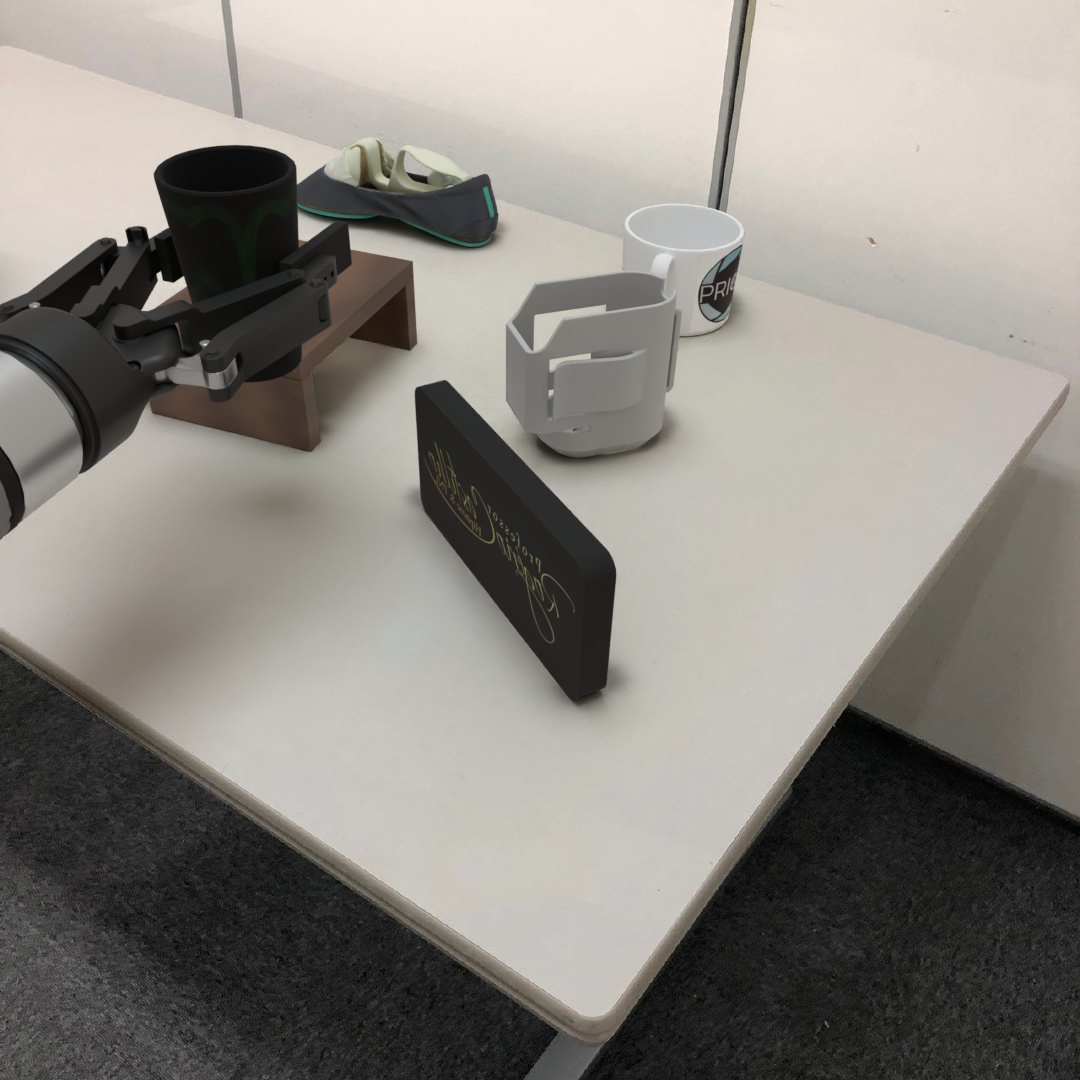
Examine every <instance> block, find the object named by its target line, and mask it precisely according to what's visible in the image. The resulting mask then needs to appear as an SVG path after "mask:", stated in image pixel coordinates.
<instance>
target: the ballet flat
mask: <svg viewBox="0 0 1080 1080" xmlns="http://www.w3.org/2000/svg"><path fill="white" fill-rule="evenodd" d="M406 153H408V155H410V156H412V158H413V159H414V160H415V161H417V162H418V163H419V164H421V165H422V166H424V167H425V168H428V169H430V170H432V171H431V172H430V173H429V174H428V175H424V174H418V173H413V172H410V171H406V168H405V156H406ZM495 197H496V196H495V194H494V190H493V186H492V180H491V177H490V176H489V174H487V173H481V174H479V175H476V176H474V177H473V176H471V175H470V174H468V173H467V172H465V171H464V170H462V169H461V167H459V166H458V164H456V163H455V162H454V161H452V160H451V159H449V158H447V157H446V156H444V155H442V154H439V153H438V152H435V151H432V150H430V149H426V148H422V147H421V148H420V147H417V146H414V145H412V144H406V145H404V146H402V147H401V148H399V150H398V151H397V153H396V157H395V158H394V157H393V155H392V154H391V153H388V151H387V150H386V149H385V148H384V146H383V143H382V141H381V139H379V138H378V137H371V136H368V137H365V138H364V137H363V138H360V139H358V140H357V141H356V142H354V143H353V144H351V145H349V146H344V147H343V148H342V150H341V151H340V153H339V154H338V155H335V156H333V157H332V158H331V159H330V160H329V161H328V162H327V163H325V164H324V165H322V167H320V168H318V169H316V170H315V171H314V172H313V173H311V174H309V175H308V176H307V177H305V178H304V179H302V180H301V181H300V182H298V183H297V202H298V207H299V208H300V209H302V210H305V211H307V212H310V213H314V214H317V215H321V216H326V217H331V218H332V217H333V218H342V219H370V218H375V217H377V216H382V217H388V218H393V219H397V220H400V221H401V222H404V223H406V224H408V225H410V226H412V227H415V228H417V229H419V230H422V231H424V232H426V233H429V234H431V235H433V236H435V237H438V238H440V239H443V240H445V241H448V242H451V243H454V244H457V245H460V246H462V247H468V248H477V247H482V246H484V245H487V244H488V243H489V242H490V241H491V239H492V235H493V233H494V232H496V230H497V227H498V224H499V216H500V215H499V212H498V206H497V201H496V198H495Z"/></svg>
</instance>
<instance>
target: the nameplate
mask: <svg viewBox="0 0 1080 1080" xmlns="http://www.w3.org/2000/svg"><path fill="white" fill-rule="evenodd" d="M414 409H415V424H416V425H415V426H416V437H417V438H416V443H417V444H416V445H417V461H418V476H419V477H418V478H419V493H420V500H421V504H422V507H423V510H424V511H425V513H426V515H427V516H428V518H429V519H430V520H431V522H432V523H433V524H434V526H435V527H436V528H437V529H438V531H439V532H440V533H441V534H442V536H443V537H444V539H445V540H446V541H447V542H448V544H449V545H450V546H451V547H452V549H453V550H454V551H455V553H456V555H458V557H459V558H460V559H461V560H462V562H463V563H464V564H465V566H466V567H467V568H468V569H469V570H470V572H471V573H472V574H473V576H474V577H475V578H476V580H477V581H478V582H479V584H480V585H481V586H482V587H483V589H484V590H485V591H486V593H487V594H488V595H489V596H490V598H491V599H492V601H494V603H495V604H496V605H497V607H498V608H499V609H500V610H501V611H502V613H503V614H504V616H505V617H506V618H507V620H508V621H509V622H510V624H511V625H512V626H513V627H514V629H515V630H516V631H517V633H518V634H519V636H520V637H521V638H522V639H523V641H525V643H526V644H527V645H528V647H529V648H530V649H531V650H532V651H533V653H534V654H535V656H536V657H537V658H538V660H539V661H540V662H541V664H543V666H544V667H545V668H546V670H547V671H548V672H549V674H550V675H551V676H552V677H553V679H554V680H555V681H556V683H557V684H558V685H559V686H560V688H561V690H562V691H563V692H564V693H565V695H566V696H567V697H568V698H569V699H570V700H573V701H576V700H578V699H581V698H583V697H585V696H587V695H590V694H593V693H595V692H598V691H600V690H603V689H604V688H606V686H607V683H608V674H609V661H610V653H611V652H610V651H611V642H612V641H611V640H612V627H613V619H614V608H615V607H614V605H615V597H616V585H617V568H616V564H615V561H614V558H613V556H612V555H611V553H610V550H608V549H607V548H606V546H605V545H604V544H603V543H602V542H601V541H600V540H599V539H598V538H597V537H596V536H595V535H594V534H593V532H591V531H590V530H589V528H587V527H586V525H584V523H583V522H582V521H581V520H580V519H579V518H578V517H577V516H576V515H575V514H574V512H572V510H570V509H569V508H568V507H567V506H566V504H565V503H564V502H563V501H562V500H561V499H560V498H559V497H558V496H557V494H555V492H553V490H552V489H551V488H550V487H549V486H547V484H546V483H545V482H544V481H543V480H542V479H541V478H540V477H539V476H538V475H537V473H535V471H534V470H533V469H532V468H531V467H530V466H528V464H527V463H526V462H525V461H524V459H522V458H521V457H520V456H519V454H517V453H516V452H515V450H513V448H512V447H511V446H510V445H509V444H508V443H507V442H506V441H505V439H503V437H501V436H500V435H499V434H498V433H497V432H496V430H494V428H493V427H492V426H491V425H490V424H489V423H488V422H487V421H486V420H485V419H484V417H482V415H480V413H478V412H477V410H476V409H475V408H474V407H473V406H472V405H471V404H470V403H469V402H468V401H467V400H466V398H464V396H463V395H462V394H460V392H459V391H458V390H457V389H456V388H455V387H454V386H453V385H452V384H451V383H450V382H449V381H448V380H447V379H442V380H439V381H435V382H431V383H427V384H423V385H419V386H416V387H415V389H414Z"/></svg>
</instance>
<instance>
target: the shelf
mask: <svg viewBox="0 0 1080 1080" xmlns="http://www.w3.org/2000/svg"><path fill="white" fill-rule="evenodd" d="M307 241H308V240H302V239H299V247H301V246H302V245H303V244H305V243H306V242H307ZM351 259H352V265H350V266H349V267H348V268H347V269H345V270H344V271H343V272H342V273H341V274H339V275H338V276H337V278H338V279H337V282H336V284H334V285H333V286H332V287H331V288H330V289H328V293H329V302H330V311H331V320H332V325H331V326H330V327H328V328H327V329H325V330H324V331H322V332H320V333H319V334H317V335H316V336H314V337H313V338H311V339H309V340H308V341H306V342H305V343H303V344H302V359H301V362H300V364H299V365H298V367H296V368H295V369H294V370H293V371H292V372H290V373H288V374H286V375H284V376H282V377H279V378H276V379H273V380H268V381H263V382H244V383H243V384H242V385H241V387H240V388H239V389H238V391H237V392H236V393H235V395H234V396H233V397H232V398H231V399H230V400H228V401H226V402H221V403H215V402H212V401H210V400H209V398H208V394H207V389H206V387H202V386H193V385H184V384H180V386H179V387H178V388H177V389H176V390H174V391H172V392H170V393H168V394H165V395H162V396H159V397H157V398H155V399H153V400H151V401H149V402H148V403H149V406H150V407H149V408H150V410H151V413H153V414H157V415H160V416H161V415H162V416H164V417H170V418H173V419H176V420H181V421H185V422H189V423H192V424H193V423H194V424H198V425H201V426H205V427H209V428H210V427H211V428H215V429H218V430H222V431H226V432H230V433H234V434H238V435H242V436H247V437H251V438H255V439H259V440H263V441H267V442H271V443H275V444H279V445H283V446H288V447H291V448H296V449H300V450H304V451H308V452H312V451H313V450H314V449H315V448H316V447H317V446H318V445H319V444H320V443H321V441H322V440H321V439H322V438H321V431H320V424H319V417H318V409H317V400H316V393H315V386H314V385H315V384H314V378H313V371H314V370H315V369H316V368H317V367H318V366H319V365H320V364H321V363H322V362H324V361H325V360H326V359H327V358H328V357H329V356H330V355H331V354H333V352H335V350H337V349H338V348H339V347H340V346H341V345H342V344H343V343H344V342H345V341H347V339H354V340H358V341H363V342H368V343H373V344H377V345H383V346H387V347H391V348H396V349H400V350H406V351H411V350H412V349H413V348H414V347H415V346H416V345H417V344H418V331H417V330H418V329H417V314H416V313H417V311H416V297H415V294H416V293H415V277H414V276H415V275H414V261H413V260H409V259H403V258H398V257H393V256H387V255H382V254H379V253H371V252H367V251H361V250H356V249H351ZM177 300H184V301H186V302H187V303H189V304H191V305H192V302H191V298H190V295H189V292H188V288H187V286H185V287H183V288H182V289H180V290H179V291H178V292H176V293H175V294H173V295H172V296H170V297H169V298H167V299H165V301H163V302H162V303H160V304H159V305H157V306H156V307H154V308H153V309H155V308H158V307H161V306H163V305H166V304H169V303H172V302H175V301H177ZM175 325H176V326H177V328H178V331H179V326H178V323H175ZM179 336H180V331H179ZM180 341H181V345H182V340H181V336H180ZM182 350H183V345H182Z"/></svg>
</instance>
